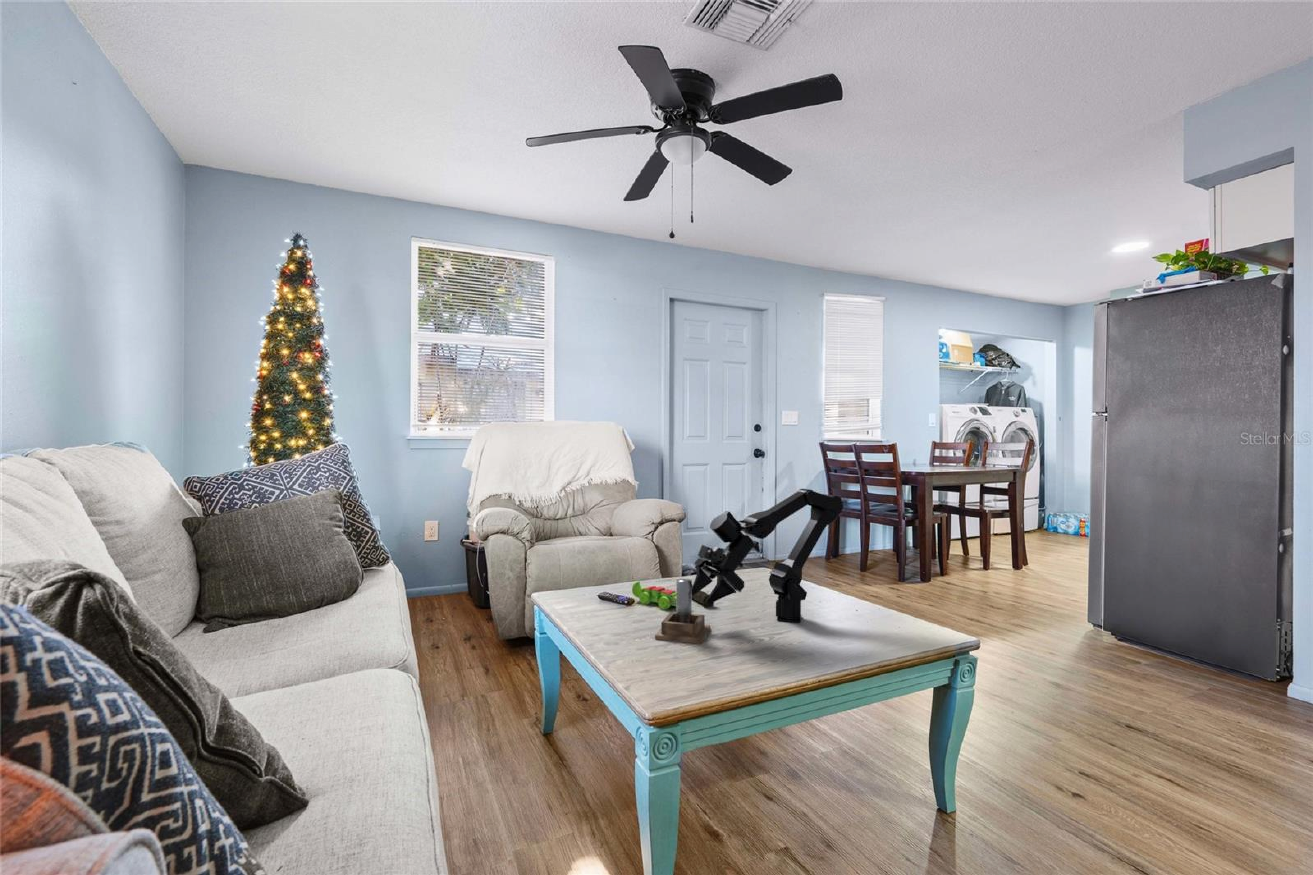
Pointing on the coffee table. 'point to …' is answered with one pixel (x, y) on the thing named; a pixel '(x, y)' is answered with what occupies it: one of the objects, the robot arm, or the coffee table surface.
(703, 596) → the hand tool
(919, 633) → the coffee table surface
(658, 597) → the toy crocodile
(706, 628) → the walnut box
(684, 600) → the steel pin
